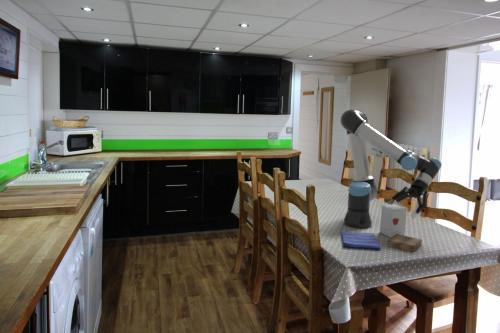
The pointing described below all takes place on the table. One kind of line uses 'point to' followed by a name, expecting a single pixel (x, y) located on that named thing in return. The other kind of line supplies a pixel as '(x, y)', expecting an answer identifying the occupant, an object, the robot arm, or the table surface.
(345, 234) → the dish towel
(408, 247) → the walnut stand
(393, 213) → the supplement box
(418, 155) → the robot arm
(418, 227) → the table surface
